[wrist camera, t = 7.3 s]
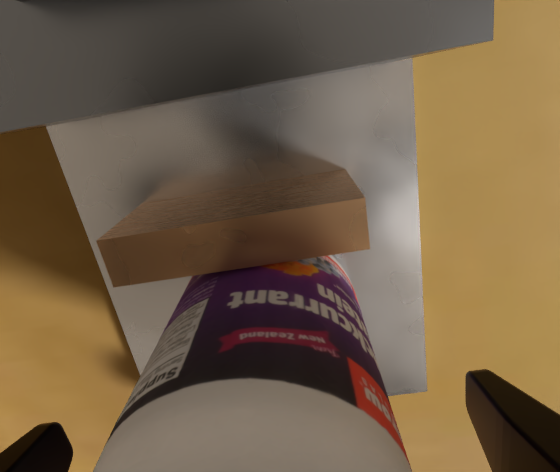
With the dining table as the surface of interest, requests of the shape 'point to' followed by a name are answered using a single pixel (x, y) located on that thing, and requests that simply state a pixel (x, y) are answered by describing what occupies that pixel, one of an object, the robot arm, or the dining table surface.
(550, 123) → the dining table surface
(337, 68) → the grey block with slats
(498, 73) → the dining table surface
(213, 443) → the pill bottle
